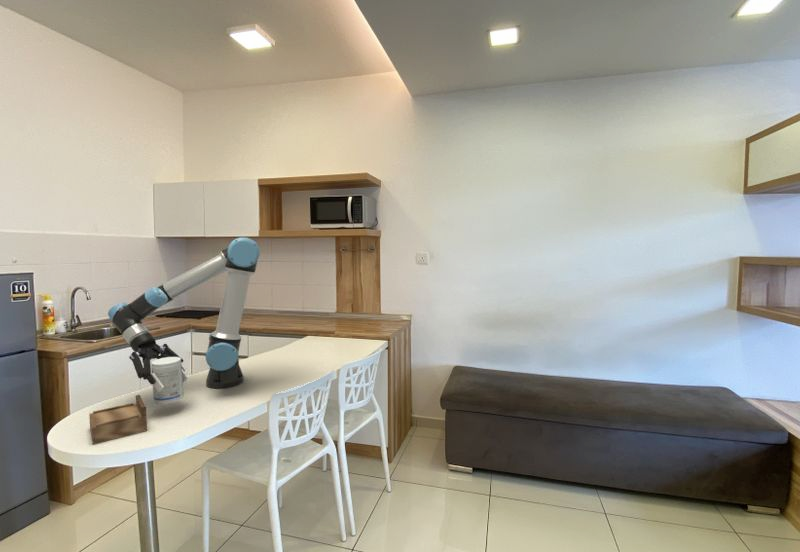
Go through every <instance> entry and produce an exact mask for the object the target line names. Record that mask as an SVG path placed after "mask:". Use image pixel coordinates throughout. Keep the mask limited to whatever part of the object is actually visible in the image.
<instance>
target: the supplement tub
mask: <svg viewBox="0 0 800 552" xmlns="http://www.w3.org/2000/svg"><path fill="white" fill-rule="evenodd" d="M179 357H180V356H179ZM179 357H166V358H160V359H155V360H154V359H153V360H152V362H150V365H151V374H152V373H154V374H155V375H156V376H157V378H158V379H159V380H160V382H161V383H162V384H163V386H164V388H163V389H162V390H161V392H158V391H157V389H156V388H155V387H154V385H153V384H152V393H153V402H154V403H156V404H159V405H165V404H171V403H175V402H177V401H179V400H182V399H183V397H184V382H183V377H182V367H183V365H182V363H183V362H181V358H182V357H181V358H179Z"/></svg>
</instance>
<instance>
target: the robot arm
mask: <svg viewBox="0 0 800 552" xmlns="http://www.w3.org/2000/svg"><path fill="white" fill-rule="evenodd" d="M260 252H261V251H260V247H259V246H258V243H256V241H254V240H253V239H252V238H249V237H243V236H241V237H238V238H235V239H234V240H232V241H231V243H229V245H228V246H227V247H226V248H224V249H222V250H221V251H220V253H219V254H218V255H216V256H214V257H212V258H210V259H208V260H206V261H205V262H202V263H201V264H199V265H197V266H195V267H192V268H191V269H190V270H187V271H186V272H184V273H182V274H180V275H177V276H176V277H174V278H172V279H171V280H169V281H167V282H165V283H163V284H161V285H159V286H153V287H151V288H150V289H148V290H145V292H143V293H142V294H141V295H140V296H138V297H137V298H136V299H134V300H133V301H132V302H130V303H129V304H128V303H126V302H121V303H120V302H119V303H118V304H116V305H113V306H112V307H111V308H109V310H108V312H107V316H108V318H109V319H110V321H111V323H112V325H114V326H115V328H116V329H117V330H118V332H119V333H120V334H121V335H122V337H123V338H124V340H125V342H126V343H128V345H129V347H130V348H131V349H132V353H131V354H130V355H129V356H128V358H129V359H130V360H131V361H132V364H133V366H134V371H135V372H136V375H137V378H139V379H143V380H144V381H145V380H147V381H148V383H149V384H150V385H152V386H153V385H154V387H155V388H156V389H157V391H158V392H161V390H162V389H163V388H164V386H163V384H162V383H161V382H160V380H159V379H158V378H157V376H156V375H155V374H154V373H152V370H151V366H152V364H151V360H154V359H155V360H157V359H160V358H166V357H179V358H181V362H182V363H183V362H184V359H183V358H182V357H181V356H179V355H178V354H177V353H176V352H174V351H173V350H172V349H171V348H170V347H169V345H168V344H167V343H163V345H159V344H157V342H156V339H155V337H154V336H153V335H152V334H151V333H150V330H149V329H148V328H147V327H146V326H145V325H144V323H143V322H142V321H143V320H144V319H146V318H147V317H149V316H150V315H151V314H153V313H154V312H155V311H157V310H158V309H159V308H161V307H163V306H164V305H166V304H169V303H170V302H172V301H173V300H174V301H175V299H177V298H179V297H181V296H182V295H184V294H187V293H188V292H190V291H192V290H194V289H196V288H198V287H200V286H201V285H203V284H205V283H208V282H209V281H211V280H213V279H215V278H216V277H218V276H220V275H222V274H225V273H226V272H227V275H226V281H225V286H224V289H223V294H222V300H221V304H220V310H219V314H218V319H217V323H216V328H215V330H214V331H213V332H210V333H209V335H208V336H209V337H208V346H207V351H206V353H205V361H206V364H207V365H208V366H209V369H208V373H207V377H206V380H205V384H206V385H205V386H206V387H208V388H210V389H225V388H232V387H235V386H238V385H240V384H242V383H243V382H244V374H243V371H242V369H241V366H240V360H239V359H240V358H239V354H240V353H239V351H240V346H241V341H242V336H241V335H240V334H239V332H240V326H241V324H242V323H241V322H242V316H243V313H244V307H245V303H246V298H247V293H248V288H249V285H250V284H249V283H250V279H251V276H252V275H254V274H255V273H256V269H257V264H258V260H259V258H260V254H261V253H260ZM141 358H142V360H141ZM142 363H143V364H142ZM182 377H183V383H186V382H187V381H188V380H189V378H190V377H189V375H188V374H187V373H186V369H185V368H184V367H183V366H182Z"/></svg>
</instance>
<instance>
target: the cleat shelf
mask: <svg viewBox="0 0 800 552" xmlns="http://www.w3.org/2000/svg"><path fill="white" fill-rule="evenodd" d="M88 416H89V429H90V435H91V443H92V445H97V444H99V443H104V442H107V441H112V440H115V439H120V438H124V437H129V436H132V435H135V434H140V433H144V432H147V431H148V421H147V419H148V418H147V417H148V416H147V405H146V404H145V402H144V400H143V398H142V397H141V394H136V395H135V403H133V402H131V403H127V404H121V405H116V406H113V407H108V408H104V409H103V408H101V409H98V410H93V411H92V412H90V413H89V415H88Z"/></svg>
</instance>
